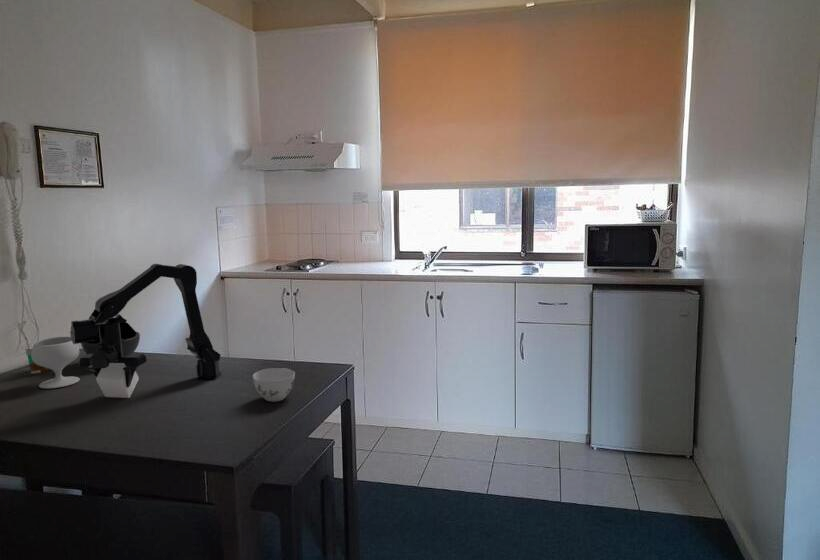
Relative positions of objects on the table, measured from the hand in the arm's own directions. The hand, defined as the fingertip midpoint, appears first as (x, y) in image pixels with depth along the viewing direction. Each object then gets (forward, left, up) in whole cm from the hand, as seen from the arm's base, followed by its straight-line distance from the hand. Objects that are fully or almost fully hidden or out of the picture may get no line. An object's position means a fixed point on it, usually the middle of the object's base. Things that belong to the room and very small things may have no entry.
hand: (115, 386), depth 184 cm
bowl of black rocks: (+24, -39, -4) cm, 46 cm away
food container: (+43, -29, -4) cm, 52 cm away
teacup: (-51, -1, -4) cm, 51 cm away
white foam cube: (0, -4, -2) cm, 4 cm away
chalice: (+29, -15, -4) cm, 33 cm away
